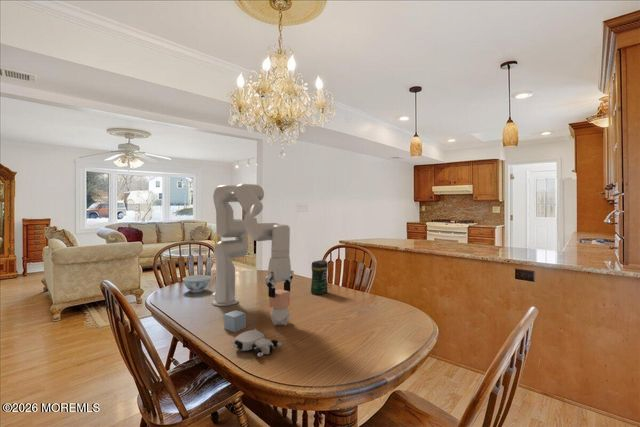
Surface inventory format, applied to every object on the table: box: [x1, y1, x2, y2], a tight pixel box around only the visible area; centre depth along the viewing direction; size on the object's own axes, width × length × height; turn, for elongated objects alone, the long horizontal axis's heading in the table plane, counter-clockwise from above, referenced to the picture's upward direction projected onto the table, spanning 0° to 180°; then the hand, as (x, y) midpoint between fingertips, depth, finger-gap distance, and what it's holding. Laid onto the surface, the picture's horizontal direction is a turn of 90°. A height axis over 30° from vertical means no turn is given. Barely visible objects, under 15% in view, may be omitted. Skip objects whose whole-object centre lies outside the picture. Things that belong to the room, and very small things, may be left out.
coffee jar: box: [310, 259, 329, 295], centre depth 182 cm, size 10×8×19 cm
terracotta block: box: [268, 288, 291, 309], centre depth 133 cm, size 6×6×6 cm
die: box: [269, 306, 291, 326], centre depth 134 cm, size 8×9×10 cm
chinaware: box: [182, 274, 211, 293], centre depth 183 cm, size 15×15×8 cm
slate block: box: [223, 310, 247, 333], centre depth 129 cm, size 6×6×6 cm
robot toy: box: [228, 328, 283, 357], centre depth 110 cm, size 12×4×15 cm
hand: (279, 294), depth 134 cm, fingers open, 9 cm apart
